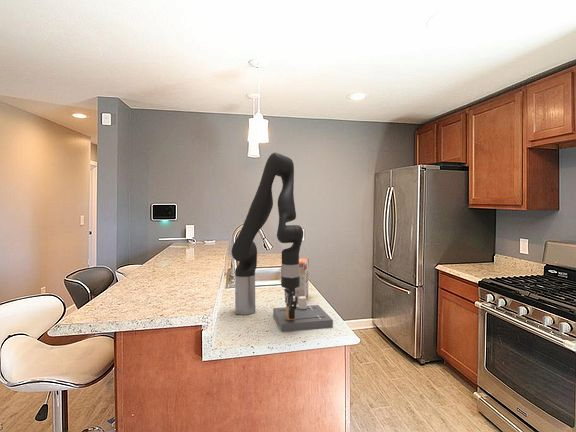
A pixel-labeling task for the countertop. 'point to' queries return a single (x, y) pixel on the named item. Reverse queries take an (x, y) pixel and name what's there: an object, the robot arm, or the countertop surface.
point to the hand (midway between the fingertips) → (290, 316)
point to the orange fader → (288, 313)
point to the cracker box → (303, 278)
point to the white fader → (302, 302)
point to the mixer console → (303, 318)
